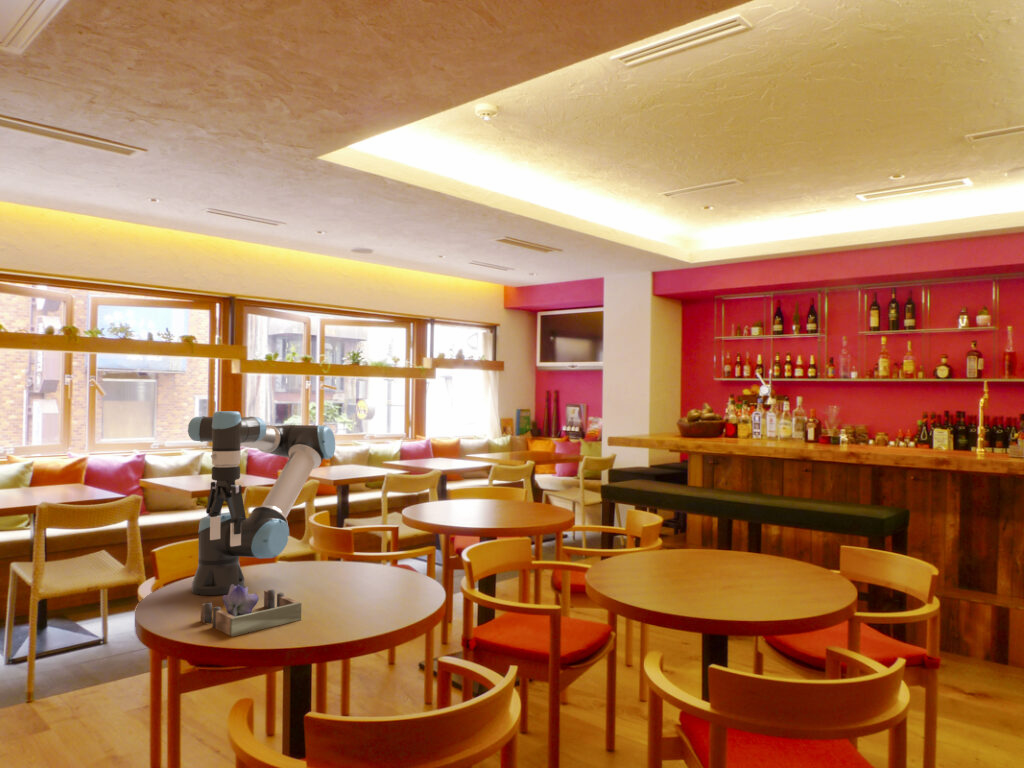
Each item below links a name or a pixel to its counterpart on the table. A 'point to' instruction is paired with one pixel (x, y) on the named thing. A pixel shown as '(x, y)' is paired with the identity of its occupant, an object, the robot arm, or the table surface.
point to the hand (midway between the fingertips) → (225, 542)
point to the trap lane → (254, 615)
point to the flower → (239, 601)
